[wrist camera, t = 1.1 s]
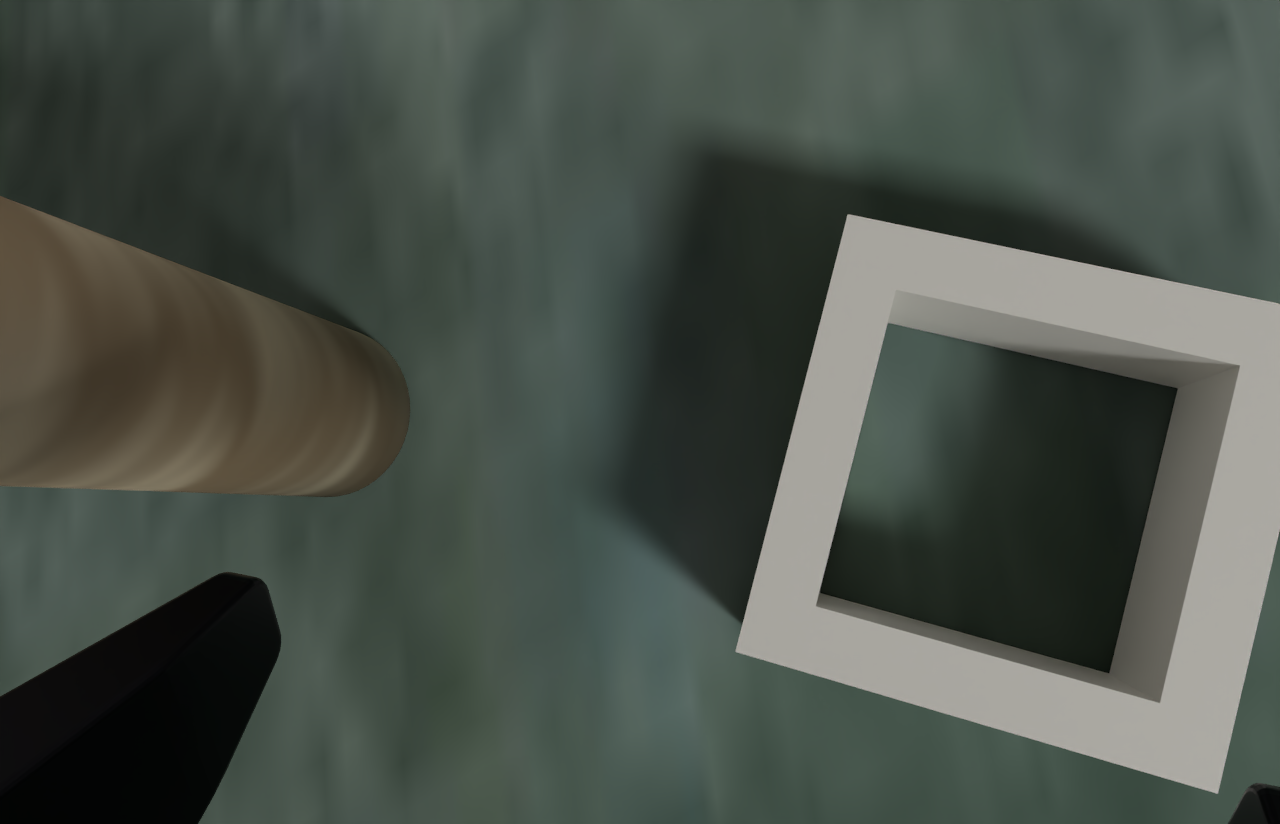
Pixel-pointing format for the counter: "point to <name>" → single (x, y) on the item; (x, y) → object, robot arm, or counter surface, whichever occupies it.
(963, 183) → the counter surface
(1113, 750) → the socket
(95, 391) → the peg
